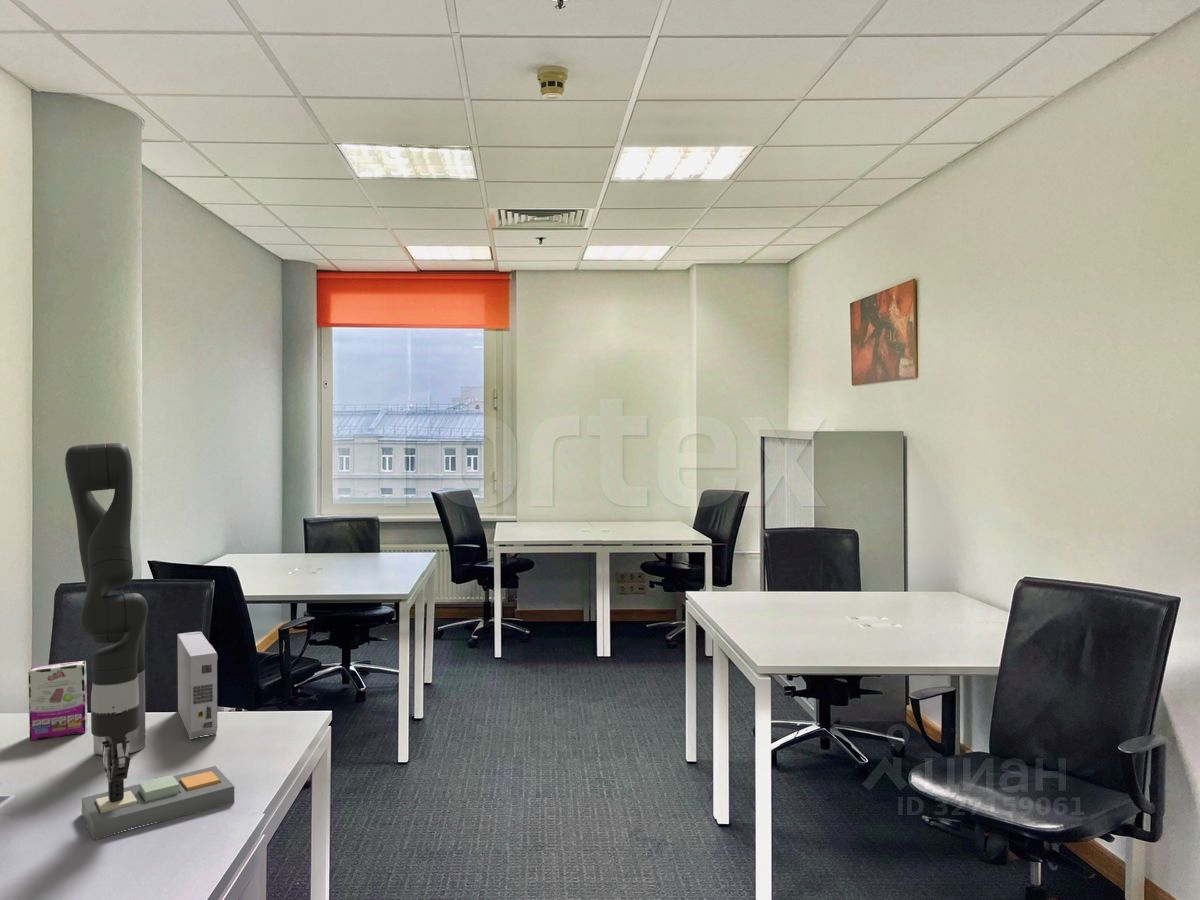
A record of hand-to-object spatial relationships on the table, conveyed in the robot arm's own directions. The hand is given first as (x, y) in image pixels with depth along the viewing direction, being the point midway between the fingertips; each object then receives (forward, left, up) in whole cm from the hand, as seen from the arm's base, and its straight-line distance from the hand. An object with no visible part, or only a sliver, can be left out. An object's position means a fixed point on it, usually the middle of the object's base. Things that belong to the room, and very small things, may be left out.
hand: (116, 799), depth 147 cm
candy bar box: (-36, +48, -4) cm, 60 cm away
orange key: (+11, +8, -2) cm, 14 cm away
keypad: (+6, +4, -4) cm, 8 cm away
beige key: (0, 0, -2) cm, 2 cm away
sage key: (+6, +4, -1) cm, 7 cm away
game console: (-6, +52, -4) cm, 53 cm away
